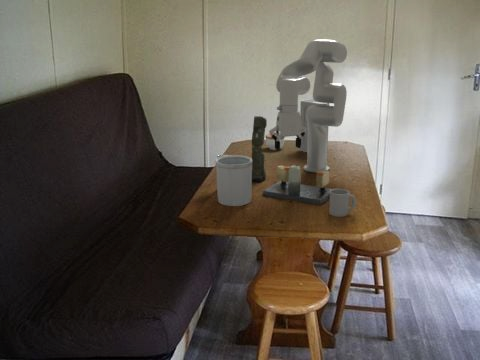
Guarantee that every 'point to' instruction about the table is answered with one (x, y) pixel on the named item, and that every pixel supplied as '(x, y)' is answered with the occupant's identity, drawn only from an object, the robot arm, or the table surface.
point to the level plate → (304, 195)
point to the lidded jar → (273, 141)
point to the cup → (340, 202)
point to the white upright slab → (304, 106)
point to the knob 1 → (283, 173)
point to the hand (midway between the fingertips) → (287, 148)
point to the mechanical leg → (258, 149)
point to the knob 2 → (322, 179)
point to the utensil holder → (234, 180)
